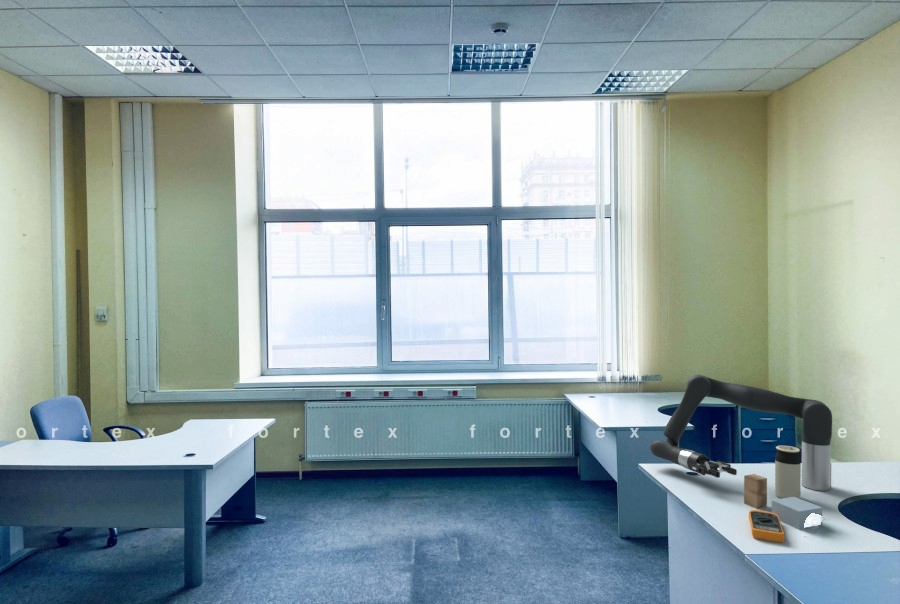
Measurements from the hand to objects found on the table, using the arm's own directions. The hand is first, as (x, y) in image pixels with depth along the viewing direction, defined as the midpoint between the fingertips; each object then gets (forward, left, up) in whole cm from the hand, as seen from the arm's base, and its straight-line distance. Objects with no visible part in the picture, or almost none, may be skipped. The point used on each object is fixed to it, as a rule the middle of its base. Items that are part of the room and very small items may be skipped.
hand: (727, 473), depth 203 cm
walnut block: (0, +11, -8) cm, 14 cm away
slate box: (0, +26, -8) cm, 27 cm away
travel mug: (-18, +10, -8) cm, 22 cm away
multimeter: (+15, +27, -8) cm, 32 cm away
